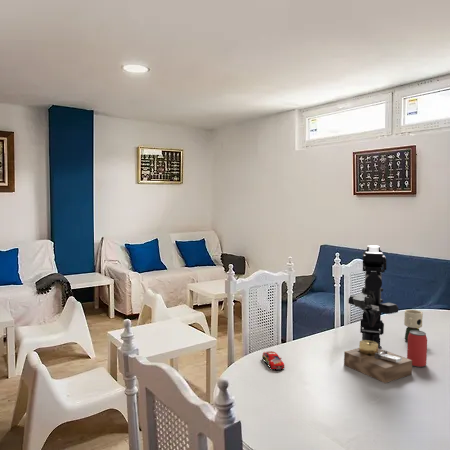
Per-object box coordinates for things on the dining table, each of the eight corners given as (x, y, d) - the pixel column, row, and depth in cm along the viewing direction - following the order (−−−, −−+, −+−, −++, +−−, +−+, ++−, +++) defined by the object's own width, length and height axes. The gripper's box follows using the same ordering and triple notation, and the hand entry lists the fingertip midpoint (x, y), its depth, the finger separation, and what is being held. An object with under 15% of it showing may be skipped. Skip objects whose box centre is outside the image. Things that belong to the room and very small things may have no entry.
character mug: (417, 346, 179) (418, 315, 178) (399, 342, 183) (401, 312, 182) (424, 340, 187) (426, 310, 186) (407, 336, 191) (408, 307, 191)
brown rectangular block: (344, 364, 158) (344, 346, 157) (369, 357, 165) (370, 340, 164) (385, 383, 142) (385, 362, 142) (411, 374, 150) (412, 355, 149)
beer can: (428, 368, 155) (429, 335, 154) (408, 366, 156) (410, 334, 156) (423, 361, 162) (424, 330, 161) (405, 360, 163) (406, 329, 162)
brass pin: (369, 370, 153) (369, 347, 152) (355, 364, 158) (355, 341, 158) (381, 367, 156) (381, 344, 155) (367, 361, 161) (367, 339, 161)
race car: (286, 371, 152) (286, 360, 151) (271, 372, 151) (271, 361, 150) (274, 357, 165) (274, 347, 164) (260, 358, 164) (261, 348, 163)
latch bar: (376, 357, 152) (376, 352, 152) (382, 355, 153) (381, 351, 153) (396, 362, 145) (395, 357, 145) (401, 360, 146) (401, 356, 147)
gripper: (338, 283, 164) (337, 323, 165) (379, 292, 148) (377, 337, 149) (358, 280, 170) (357, 319, 171) (399, 289, 154) (398, 332, 155)
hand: (371, 326), depth 161 cm, fingers closed
